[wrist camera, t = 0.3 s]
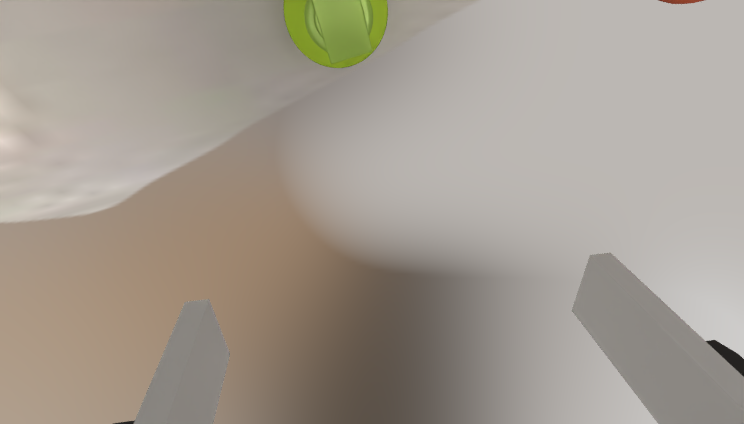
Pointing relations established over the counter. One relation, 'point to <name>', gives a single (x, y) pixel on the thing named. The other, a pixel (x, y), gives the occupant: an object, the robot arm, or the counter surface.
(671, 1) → the tomato
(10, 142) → the counter surface
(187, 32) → the counter surface
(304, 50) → the soap dispenser
